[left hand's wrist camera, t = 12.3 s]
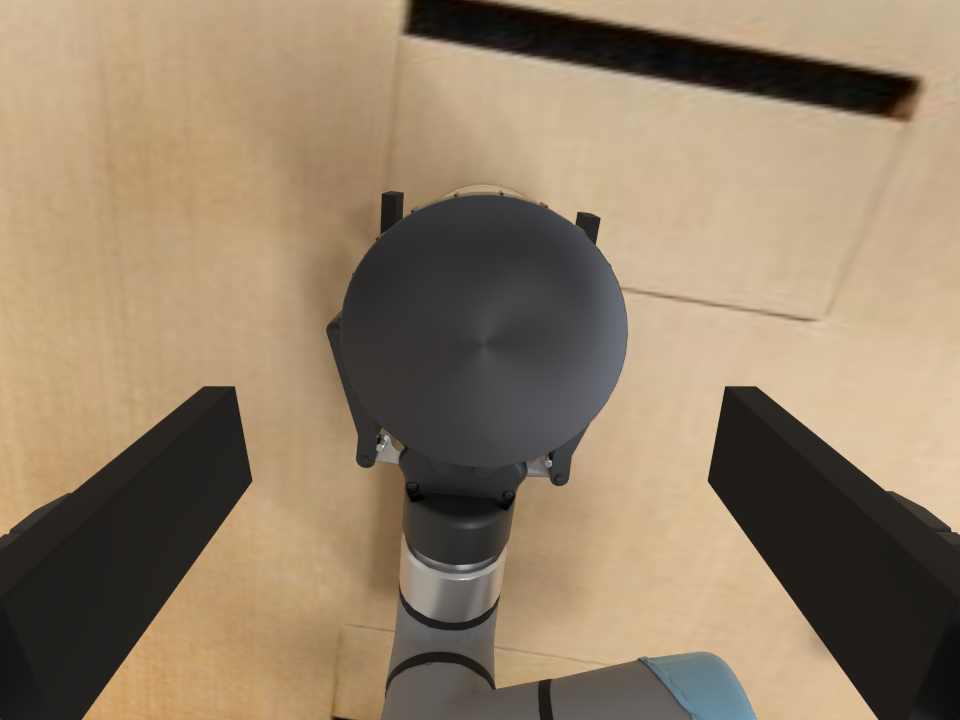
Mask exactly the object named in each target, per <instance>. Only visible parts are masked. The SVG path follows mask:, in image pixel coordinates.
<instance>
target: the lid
mask: <svg viewBox="0 0 960 720" xmlns="http://www.w3.org/2000/svg"><path fill="white" fill-rule="evenodd" d="M584 233H585V231H584V230H583V229H581V228H580V227H578V226H577V225H573V224H572V223H571V222H570V221H568V220H567V219H565V218H564V217H562V216H561V215H559V214H558V213H556V212H554V211H553V210H551V209H549V208H548V206H547V205H546V204H544V203H543V202H540V204H539V203H537V202H535V201H532V200H530V199H527V198H523V197H520V196H516V195H512V194H507V193H503V191H502V190H499V192H469V193H462V194H459V192H456V193H455V194H454V195H452V196H448V197H445V198H441V199H438V200H436V201H433V202H431V203H429V204H427V205H424V206H422V207H420V208H419V206H417V207H416V208H414V209H413V210H411V214H409V215H407V216H406V217H404V218H403V219H401V220H400V221H399V222H397V223H396V224H395V225H394V226H392V227H391V228H390V229H389V230H388V231H386V232H384V233H383V234H381V235H380V236H378V237H377V238H376V240H377V241H376V242H375V243H374V244H373V246H372V247H371V248H370V249H369V250H368V251H367V253H366V254H365V256H364V257H363V259H362V260H361V262H360V263H359V265H358V267H357V269H356V271H355V272H354V273H353V275H352V276H353V277H352V279H351V281H350V283H349V286H348V289H347V292H346V296H345V299H344V303H343V309H342V315H341V330H340V338H341V347H342V355H343V359H344V363H345V367H346V371H347V374H348V376H349V379H350V381H351V384H352V386H353V388H354V390H355V392H356V394H357V396H358V397H359V399H360V401H361V403H362V404H363V405H364V407H365V408H366V410H367V411H368V412H369V414H370V415H371V416H372V417H373V418H374V419H375V421H376V422H377V423H378V424H379V425H380V426H381V427H382V428H383V429H384V430H385V431H387V432H388V433H389V434H390V435H392V436H393V437H394V438H395V439H396V440H398V441H399V442H401V443H403V444H404V445H406V446H407V447H409V448H410V449H412V450H414V451H416V452H418V453H421V454H423V455H425V456H427V457H430V458H433V459H436V460H438V461H441V462H445V463H449V464H454V465H458V466H467V467H501V466H509V465H514V464H518V463H522V462H527V461H529V460H532V459H535V458H538V457H541V456H543V455H545V454H547V453H549V452H551V451H553V450H555V449H557V448H559V447H560V446H562V445H564V444H565V443H567V442H568V441H570V440H571V439H573V438H574V437H575V436H576V435H577V434H579V433H580V432H581V431H582V430H583V429H585V428H586V427H587V426H588V424H589V423H590V422H591V421H592V420H593V419H594V418H595V417H596V416H597V415H598V413H599V412H600V411H601V409H602V408H603V406H604V405H605V404H606V402H607V401H608V399H609V397H610V395H611V393H612V392H613V390H614V388H615V386H616V384H617V381H618V378H619V376H620V373H621V371H622V367H623V363H624V359H625V355H626V347H627V337H628V329H627V314H626V309H625V303H624V298H623V295H622V292H621V289H620V286H619V283H618V281H617V278H616V276H615V274H614V272H613V270H612V268H611V267H612V266H611V265H610V264H609V263H608V262H607V260H606V259H605V257H604V256H603V254H602V253H601V251H600V250H599V249H598V247H597V246H596V245H595V244H594V243H593V242H592V241H591V240H590V239H589V238H588V237H587V235H586V234H584Z"/></svg>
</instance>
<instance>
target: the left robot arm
mask: <svg viewBox="0 0 960 720" xmlns="http://www.w3.org/2000/svg"><path fill="white" fill-rule="evenodd" d="M251 482H252V476H251V471H250V465H249V460H248V455H247V449H246V444H245V439H244V433H243V428H242V423H241V417H240V412H239V406H238V401H237V396H236V390H235V386H204V387H202V388H201V389H200V390H199V391H198V392H196V393H195V394H194V395H193V396H191V397H190V398H189V399H188V400H186V401H185V402H184V403H183V404H181V405H180V406H179V407H178V408H177V409H175V410H174V411H173V412H172V413H170V414H169V415H168V416H167V417H165V418H164V419H163V420H162V421H160V422H159V423H158V424H157V425H155V426H154V427H153V428H152V429H151V430H149V431H148V432H147V433H146V434H144V435H143V436H142V437H141V438H139V439H138V440H137V441H136V442H134V443H133V444H132V445H131V446H129V447H128V448H127V449H126V450H125V451H123V452H122V453H121V454H120V455H118V456H117V457H116V458H115V459H113V460H112V461H111V462H110V463H108V464H107V465H106V466H105V467H103V468H102V469H101V470H100V471H99V472H97V473H96V474H95V475H94V476H92V477H91V478H90V479H89V480H87V481H86V482H85V483H84V484H82V485H81V486H80V487H79V488H77V489H76V490H75V491H74V492H73V493H67V494H65V495H64V496H62V497H60V498H58V499H56V500H54V501H52V502H50V503H48V504H46V505H44V506H42V507H41V508H39V509H37V510H35V511H34V512H32V513H31V514H30V515H29V516H27V517H26V518H25V519H23V520H22V521H21V522H20V523H18V524H17V525H16V526H15V527H13V528H12V529H11V530H10V533H9V534H4V535H3V536H2V537H0V720H82V718H83V717H84V716H85V714H86V713H87V711H88V710H89V709H90V707H91V706H92V704H93V703H94V702H95V700H96V699H97V697H98V696H99V695H100V693H101V692H102V690H103V689H104V688H105V686H106V685H107V683H108V682H109V681H110V679H111V678H112V676H113V675H114V674H115V672H116V671H117V670H118V668H119V667H120V665H121V664H122V663H123V661H124V660H125V658H126V657H127V656H128V654H129V653H130V651H131V650H132V649H133V647H134V646H135V644H136V643H137V642H138V640H139V639H140V637H141V636H142V635H143V633H144V632H145V630H146V629H147V628H148V626H149V625H150V623H151V622H152V621H153V619H154V618H155V616H156V615H157V614H158V612H159V611H160V609H161V608H162V607H163V605H164V604H165V602H166V601H167V600H168V598H169V597H170V595H171V594H172V593H173V591H174V590H175V589H176V587H177V586H178V584H179V583H180V582H181V580H182V579H183V577H184V576H185V575H186V573H187V572H188V570H189V569H190V568H191V566H192V565H193V563H194V562H195V561H196V559H197V558H198V556H199V555H200V554H201V552H202V551H203V549H204V548H205V547H206V545H207V544H208V542H209V541H210V540H211V538H212V537H213V535H214V534H215V533H216V531H217V530H218V528H219V527H220V526H221V524H222V523H223V521H224V520H225V519H226V517H227V516H228V514H229V513H230V512H231V510H232V509H233V508H234V506H235V505H236V503H237V502H238V501H239V499H240V498H241V496H242V495H243V494H244V492H245V491H246V489H247V488H248V487H249V485H250V484H251ZM708 482H709V484H710V485H711V487H712V488H713V489H714V491H715V492H716V494H717V495H718V496H719V498H720V499H721V501H722V502H723V503H724V505H725V506H726V508H727V509H728V510H729V512H730V513H731V515H732V516H733V517H734V519H735V520H736V521H737V523H738V524H739V526H740V527H741V528H742V530H743V531H744V533H745V534H746V535H747V537H748V538H749V540H750V541H751V542H752V544H753V545H754V547H755V548H756V549H757V551H758V552H759V554H760V555H761V556H762V558H763V559H764V561H765V562H766V563H767V565H768V566H769V568H770V569H771V570H772V572H773V573H774V575H775V576H776V577H777V579H778V580H779V582H780V583H781V584H782V586H783V587H784V589H785V590H786V591H787V593H788V594H789V595H790V597H791V598H792V600H793V601H794V602H795V604H796V605H797V607H798V608H799V609H800V611H801V612H802V614H803V615H804V616H805V618H806V619H807V621H808V622H809V623H810V625H811V626H812V628H813V629H814V630H815V632H816V633H817V635H818V636H819V637H820V639H821V640H822V642H823V643H824V644H825V646H826V647H827V649H828V650H829V651H830V653H831V654H832V656H833V657H834V658H835V660H836V661H837V663H838V664H839V665H840V667H841V668H842V670H843V671H844V672H845V674H846V675H847V676H848V678H849V679H850V681H851V682H852V683H853V685H854V686H855V688H856V689H857V690H858V692H859V693H860V695H861V696H862V697H863V699H864V700H865V702H866V703H867V704H868V706H869V707H870V709H871V710H872V711H873V713H874V714H875V716H876V717H877V718H878V720H960V535H959V534H958V533H957V532H952V531H951V528H950V527H949V526H947V525H946V524H945V523H944V522H942V521H941V520H940V519H938V518H937V517H936V516H935V515H933V514H932V513H931V512H929V511H928V510H927V509H926V508H924V507H922V506H920V505H918V504H916V503H914V502H912V501H910V500H908V499H906V498H904V497H903V496H901V495H899V494H897V493H895V492H893V491H885V490H884V489H882V488H881V487H880V486H879V485H878V484H876V483H875V482H874V481H873V480H871V479H870V478H869V477H868V476H866V475H865V474H864V473H863V472H861V471H860V470H859V469H858V468H857V467H855V466H854V465H853V464H852V463H850V462H849V461H848V460H847V459H845V458H844V457H843V456H842V455H840V454H839V453H838V452H837V451H835V450H834V449H833V448H832V447H831V446H829V445H828V444H827V443H826V442H824V441H823V440H822V439H821V438H819V437H818V436H817V435H816V434H814V433H813V432H812V431H811V430H809V429H808V428H807V427H806V426H805V425H803V424H802V423H801V422H800V421H798V420H797V419H796V418H795V417H793V416H792V415H791V414H790V413H788V412H787V411H786V410H785V409H783V408H782V407H781V406H780V405H779V404H777V403H776V402H775V401H774V400H772V399H771V398H770V397H769V396H767V395H766V394H765V393H764V392H762V391H761V390H760V389H759V388H757V387H756V386H725V390H724V396H723V401H722V406H721V412H720V417H719V423H718V428H717V433H716V439H715V444H714V449H713V455H712V460H711V465H710V471H709V476H708Z"/></svg>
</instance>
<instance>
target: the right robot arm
mask: <svg viewBox="0 0 960 720" xmlns="http://www.w3.org/2000/svg"><path fill="white" fill-rule="evenodd" d="M403 197H404V193H402V192H393V191H390V192H386V193H383V194H382V206H381V234H383V233H384V232H386V231H388V230H389V229H390V228H391V227H392V226H394V225H395V224H396V223H397V222H399V221H400V220H401V219H402V218H403ZM600 219H601V218H600V217H597V216H595V215H593V214H591V213H584V212H578V213H577V219H576V225H577V226H578V227H580V228H581V229H583V230H584V231H585V233H584V234H586V235H587V237H588V238H589V239H590V240H591V241H592V242H593V243H594V244H595V245H596V240H597V235H598V229H599V224H600ZM364 256H365V255H364ZM341 315H342V311H341V312H340V313H339V314H338V315H337V316H336V317H335V318H334V319H333V320H332V321H331V322H330V323H329V324H328V326H327V329H326V331H327V335H328V339H329V342H330V345H331V348H332V352H333V355H334V358H335V361H336V365H337V368H338V371H339V374H340V378H341V381H342V384H343V387H344V391H345V394H346V397H347V400H348V404H349V407H350V410H351V413H352V417H353V420H354V423H355V426H356V430H357V433H358V445H357V456H356V460H357V463H358V465H360V466H361V467H364V468H369V467H372V466H373V465H374V463H375V461H381V462H388V463H395V464H399V467H400V469H401V470H402V472H403V474H404V477H405V492H404V508H403V524H402V525H403V534H402V538H401V556H400V575H399V577H400V579H399V600H398V610H397V620H396V630H395V638H394V644H393V649H392V655H391V660H390V665H389V671H388V676H387V682H386V692H385V703H384V708H383V712H382V717H381V720H757V718H756V716H755V714H754V711H753V709H752V707H751V704H750V702H749V700H748V698H747V696H746V694H745V692H744V690H743V688H742V686H741V684H740V682H739V681H738V679H737V677H736V676H735V674H734V672H733V671H732V670H731V668H730V667H729V666H728V665H727V664H726V663H725V662H724V661H723V660H722V659H721V658H719V657H718V656H716V655H714V654H712V653H709V652H694V653H686V654H678V655H671V656H663V657H655V658H648V657H640V658H639V659H637V660H636V661H632V662H627V663H623V664H618V665H614V666H610V667H605V668H601V669H596V670H592V671H588V672H583V673H579V674H574V675H570V676H566V677H561V678H557V679H546V680H541V681H536V682H531V683H526V684H520V685H515V686H510V687H505V688H500V689H496V687H495V680H494V635H495V626H496V617H497V608H498V601H499V597H500V591H501V588H502V582H503V576H504V569H505V563H506V556H507V548H508V540H509V536H510V530H511V523H512V517H513V510H514V504H515V498H516V492H517V489H518V487H519V485H520V484H521V483H522V482H523V480H524V479H525V478H526V476H534V477H550V480H551V482H552V484H554V485H556V486H562V485H564V484H566V483H567V482H568V480H569V473H570V465H571V458H572V455H573V453H574V451H575V449H576V447H577V446H578V444H579V442H580V440H581V438H582V437H583V435H584V433H585V431H586V429H587V428H588V426H589V424H590V423H589V424H588V426H587V427H586V428H585V429H583V430H582V431H581V432H580V433H579V434H577V435H576V436H575V437H574V438H573V439H571V440H570V441H568V442H567V443H565V444H564V445H562V446H560V447H559V448H557V449H555V450H553V451H551V452H549V453H547V454H545V455H543V456H541V457H538V458H535V459H532V460H529V461H527V462H522V463H518V464H514V465H509V466H501V467H467V466H458V465H454V464H449V463H445V462H441V461H438V460H436V459H433V458H430V457H427V456H425V455H423V454H421V453H418V452H416V451H414V450H412V449H410V448H409V447H407V446H406V445H404V444H400V443H398V442H396V441H395V439H394V437H393V436H392V435H390V434H389V433H388V432H387V431H385V430H384V429H383V428H382V427H381V426H380V425H379V424H378V423H377V422H376V421H375V419H374V418H373V417H372V416H371V415H370V414H369V412H368V411H367V410H366V408H365V407H364V405H363V404H362V403H361V401H360V399H359V397H358V396H357V394H356V392H355V390H354V388H353V386H352V384H351V381H350V379H349V376H348V374H347V371H346V367H345V363H344V359H343V355H342V347H341V338H340V330H341ZM624 360H625V359H624Z"/></svg>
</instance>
